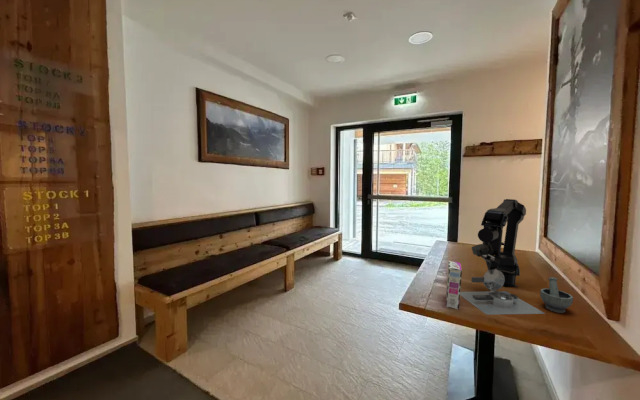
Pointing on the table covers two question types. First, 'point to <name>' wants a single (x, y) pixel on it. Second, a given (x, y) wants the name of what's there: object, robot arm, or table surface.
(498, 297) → the cooker pot
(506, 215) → the robot arm
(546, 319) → the table surface
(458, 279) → the candy bar box
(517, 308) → the slate board
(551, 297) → the mortar and pestle
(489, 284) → the lid
